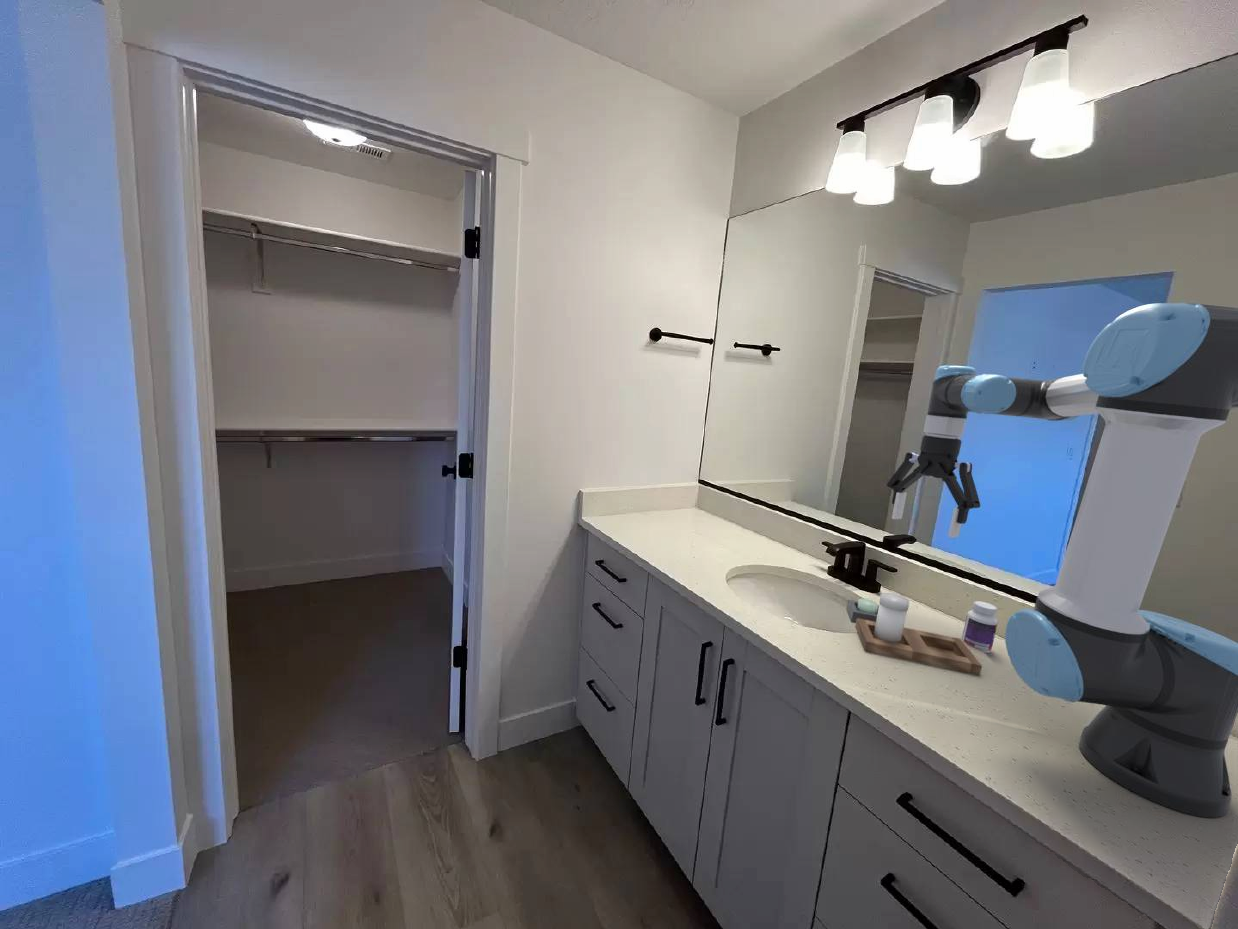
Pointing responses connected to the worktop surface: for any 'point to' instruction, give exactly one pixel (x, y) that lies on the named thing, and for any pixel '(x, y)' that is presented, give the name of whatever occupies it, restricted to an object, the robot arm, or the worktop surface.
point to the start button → (867, 606)
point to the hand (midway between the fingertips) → (923, 527)
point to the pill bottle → (980, 626)
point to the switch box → (859, 612)
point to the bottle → (891, 617)
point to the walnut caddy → (921, 648)
